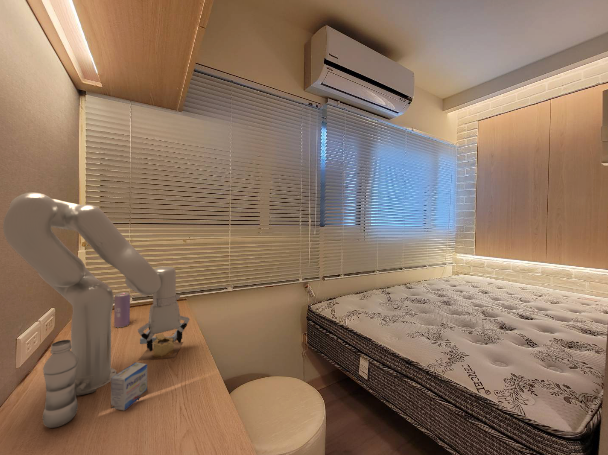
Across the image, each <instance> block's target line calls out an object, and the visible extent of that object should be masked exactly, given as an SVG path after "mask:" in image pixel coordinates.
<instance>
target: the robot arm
mask: <svg viewBox="0 0 608 455" xmlns="http://www.w3.org/2000/svg"><path fill="white" fill-rule="evenodd" d="M8 207H9V208H8V210H7V211H6V213H5V215H4V218H3V223H2V230H3V236H4V238H5V240H6V242H7V244H8V245H9V246H10V247H11V249H12V250H14V251H15V253H16V254H17V255H19V257H21V258H22V259H23V260H24V261H25V262H26V263H27V264H28V265H29V266H30V267H31V268H32V269H34V271H36V273H37V274H38V276H39V277H40V278H41V279H42V280H43V281H44V282H45V283H46V284H47V285H49V286H50V287H51V288H52V289H53V290H55V291H56V292H57V293H58V294H59V295H61V296H62V298H64V299H65V300H66V301H67V302H68V303H69V304H70V305H71V307H72V315H71V316H72V317H71V324H70V326H71V327H70V328H71V329H70V338H71V339H70V340H71V349H70V351H72V352H73V353H74V354H75V355H76V356H77V358H78V364H77V370H76V376H75V393H76V397H77V396H84V395H88V394H91V393H95V392H97V389H99V388H101V387H103V386H105V385H107V384H108V383H111V378H112V377H113V376H115V375H116V374H118V373H117V370H116V368H115V369H114V368H113V367H111V366H112V363H111V362H112V314H113V307H114V297H115V294H114V292H113V290H112V288H111V287H110V286H109V284H107V283H106V282H104V281H102V280H99V279H98V278H97V277H95V275H94V274H93V273H92V272H91V271H90V270H89V269H88V268H87V267H86V266H85V263H84V261H83V260H82V259H81V258H80V257H79V256H77V255H76V254H74V253H73V251H71V250H70V249H69V248H68V247H67V246H66V245H65V244H64V242H62V241H61V239H60V238H59V237H58V236H57V235H56V234H55V233H54V231H53V230H52V229H53V228H56V229H63V230H66V231H67V230H69V231H74V232H77V233H78V234H79V235H80V236H81V237H82V239H83V240H84V241H85V242H86V243H87V244H88V245H89V246H90V247H91V248H92V249H93V251H94V252H95V253H96V254H97V255H98V256H99V257H100V259H102V260H103V261H104V262H105V263H107V264H109V265H110V266H111V267H113V268H114V269H116V270H117V271H119V272H120V274H122V275H123V277H125V279H124V280H125V282H124V283H125V285H126V287H127V288H128V289H130V290H131V291H134V292H135V293H138V294H140V295H141V296H150V295H152V304H151V305H150V307H149V311H148V312H149V314H148V322H146V323H145V324H143V325H142V326H141V327H139V328H138V329H137V332H138V334H139V335H140V336H141V337H142V338H144V339H146V340H147V344H146V350H147V349H148V348H149V350H150V351H152V350H153V348H152V344H153V343H152V339H151V338H152V337H155V335H159V334H163V333H166V332H169V331H174V330H176V331H177V338H176V341H177V342H179V343H181V342H182V340H183V332H184V330H185V329H186V327H187V326H188V324H189V321H190V320H191V319H190V317H188V316H183V315H181V313H180V307H179V302H178V301H177V300H179V299H180V298H181V295H180V294H177V282H176V281H177V274H176V268H175V267H173V266H161V267H157V268H154V267H153V266H152V265H151V264H150V263H149V262H148V261H147V259H146V258H145V257H144V256H143V255H142V254H140V253H139V252H138V250H137V248H135V247H134V246H133V245H132V244H131V243H130V242H129V241H128V239H126V238H125V236H124V235H123V234H122V232H120V231H119V228H117V227H116V225H115V224H114V223H113V222H112V220H111V219H110V217H108V215H107V214H106V213H105V212H104V211H103V210H102V209H101V208H100V207H99V206H95V205H92V204H79V203H73V202H69V201H63V200H59V199H56V198H52V197H50V196H48V195H46V194H44V193H40V192H25V193H22V194H20V195H18V196H16V197H14V198H13V199H12V200H11V202H10V204H9V206H8ZM181 321H183V322H182V323H183V324H182V325H181V326H180V323H181ZM147 329H148V330H150V331H149V332H148V334H145V333H146V332H145V330H147ZM177 329H178V330H177Z"/></svg>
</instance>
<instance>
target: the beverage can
mask: <svg viewBox="0 0 608 455" xmlns="http://www.w3.org/2000/svg"><path fill="white" fill-rule="evenodd" d="M113 307H114V312H113V314H114V319H113V320H114V322H113V323H114V324H113V326H114V327H115V328H116V327H117V328H116V329H119V327H122V328H125V327H124V326H126V327H127V325H128V326H129V325H130V321H131V314H130V313H131V310H130V309H131V295H130V292H119V293H115V294H114V301H113Z"/></svg>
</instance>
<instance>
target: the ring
mask: <svg viewBox="0 0 608 455" xmlns="http://www.w3.org/2000/svg"><path fill="white" fill-rule="evenodd" d="M155 337H156V341H154V342H153V343H152V344H153V356H154V357H157V358H162V357H166V356H169V355H171V354H172V353H173V352H174V342H175V341H174V340H173V338H171V337H170V336H165V335H164V333H158V334H155ZM160 342H167V343H163V344H159V343H160Z"/></svg>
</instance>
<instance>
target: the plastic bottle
mask: <svg viewBox="0 0 608 455" xmlns="http://www.w3.org/2000/svg"><path fill="white" fill-rule="evenodd" d="M50 354H51V355H50V356H49V358H48V359H47V360H46V361H45V363H44V364H43V367H42V370H43V371H42V372H43V377H44V381H45V393H46V395H45V396H46V397H45V404H44V409H43V413H42V422H43V425H44V426H45V427H46V428H50V429H53V428H59V427H61V426H63V425H66V424H68V423H69V422H70V421H71V420H72V419H73V418H74V417H75V416H76V414H77V413H78V407H79V405H78V399H77V396H76V393H75V376H76V370H77V364H78V358H77V356H76V355H75V354H74V353H73V352H72V351H71V339H61V340H58V341H55V342H53V343H51V345H50Z"/></svg>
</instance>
